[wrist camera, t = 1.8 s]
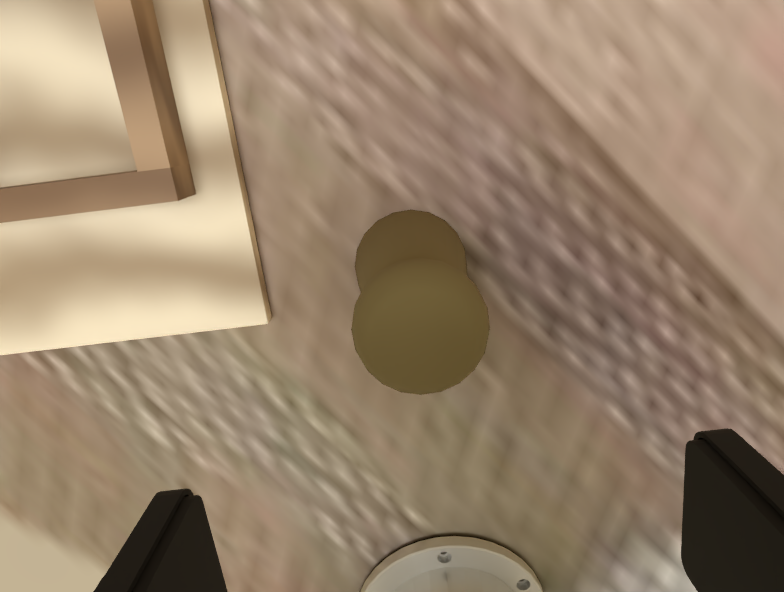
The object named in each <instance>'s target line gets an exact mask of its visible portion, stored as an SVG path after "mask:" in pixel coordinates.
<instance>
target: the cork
mask: <svg viewBox="0 0 784 592" xmlns="http://www.w3.org/2000/svg"><path fill="white" fill-rule="evenodd" d="M355 270H356V275H357V280H358V284H359V288H360V291H361V294H360V296H359V298H358V300H357V302H356V304H355V308H354V314H353V322H352V329H351V330H352V335H353V340H354V345H355V349H356V351H357V353H358V355H359V357H360V358H361V360H362V362H363V363H364V365H365V367H366V369H367V370H368V371H369V372H370V373H371V374H372V375H373V376H374V377H375V378H376V379H378V380H379V381H380V382H381V383H382V384H384V385H386V386H388V387H391V388H393V389H395V390H397V391H400V392H404V393H412V394H419V395H422V394H429V393H435V392H441V391H444V390H446V389H448V388H450V387H452V386H454V385H456V384H459V383H460V382H461V381H462V380H464V379H465V378H466V377H467V376H468V375H469V374H470V373H471V372H472V371H474V370H475V368H476V366H477V365H478V363H479V361H480V360H481V358H482V356H483V355H484V353H485V349H486V344H487V339H488V335H489V330H490V326H489V318H488V309H487V306H486V304H485V302H484V300H483V298H482V296H481V294H480V292H479V290H478V288H477V287H476V285H475V284H474V283H473V282H472V281H471V280H470V279H469V278H468V277H467V264H466V257H465V249H464V246H463V244H462V242H461V240H460V238H459V236H458V234H457V233H456V231H455V230H454V229H453V228H452V227H451V226H450V225H449V224H448V223H447V222H446V221H445V220H443V219H441V218H439V217H437V216H435V215H433V214H431V213H429V212H422V211H415V210H407V211H401V212H395V213H392V214H390V215H388V216H386V217H384V218H382V219H380V220H378V221H377V222H376V223H375V224H374V225H373V226H372V227H371V228H370V229H369V230H368V231H367V232H366V233H365V234H364V236H363V238H362V240H361V242H360V245H359V247H358V249H357V254H356V262H355Z"/></svg>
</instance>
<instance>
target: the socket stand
mask: <svg viewBox="0 0 784 592" xmlns="http://www.w3.org/2000/svg"><path fill="white" fill-rule="evenodd" d="M271 318H272V316H271V311H270V306H269V301H268V296H267V291H266V286H265V281H264V276H263V271H262V266H261V261H260V256H259V251H258V246H257V241H256V236H255V231H254V226H253V221H252V216H251V211H250V206H249V201H248V196H247V191H246V186H245V181H244V176H243V171H242V166H241V161H240V156H239V151H238V146H237V141H236V136H235V131H234V126H233V121H232V116H231V111H230V106H229V101H228V96H227V91H226V86H225V81H224V76H223V71H222V66H221V61H220V56H219V51H218V46H217V41H216V36H215V31H214V26H213V20H212V15H211V10H210V5H209V0H0V355H6V354H14V353H23V352H31V351H40V350H48V349H57V348H66V347H74V346H83V345H91V344H100V343H108V342H117V341H125V340H134V339H142V338H151V337H160V336H168V335H177V334H185V333H194V332H202V331H211V330H219V329H228V328H236V327H245V326H254V325H262V324H268V323H269V321H270V320H271Z"/></svg>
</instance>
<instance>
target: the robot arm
mask: <svg viewBox="0 0 784 592" xmlns="http://www.w3.org/2000/svg"><path fill="white" fill-rule="evenodd" d="M681 558H682V563H683V567H684V569H685V572H686V574H687V576H688V577H689V579H690V581H691V582H692V584H693V585H694V587H695V588H696V590H697V591H698V592H784V475H783V474H782V473H781V472H780V471H778V470H777V469H776V468H775V467H774V466H773V465H772V464H771V463H770V462H768V461H767V460H766V459H765V458H764V457H763V456H762V455H761V454H759V453H758V452H757V451H756V450H755V449H754V448H753V447H752V446H751V445H749V444H748V443H747V442H746V441H745V440H744V439H743V438H742V437H741V436H739V435H738V434H737V433H736V432H735V431H733V430H732V429H719V430H710V431H701V432H698V433H696V434H695V436H694V440H692V441H688V442H687V444H686V452H685V475H684V499H683V522H682V546H681ZM94 592H227V588H226V585H225V581H224V577H223V574H222V570H221V566H220V563H219V559H218V555H217V552H216V548H215V544H214V541H213V537H212V533H211V530H210V526H209V522H208V519H207V515H206V512H205V508H204V504H203V501H202V498H201V497H200V496H199V495H195V496H193V493H192V492H191V490H190V489H179V490H170V491H161V492H158V493H157V494H156V495H155V496H154V497H153V499H152V501H151V502H150V504H149V505H148V507H147V509H146V510H145V512H144V513H143V515H142V517H141V518H140V520H139V522H138V523H137V525H136V526H135V528H134V530H133V531H132V533H131V534H130V536H129V538H128V539H127V541H126V542H125V544H124V546H123V547H122V549H121V550H120V552H119V554H118V555H117V557H116V558H115V560H114V562H113V563H112V565H111V566H110V568H109V570H108V571H107V573H106V574H105V576H104V577H103V578H102V579H101V581H100V583H99V584H98V586H97V587H96V589H95V590H94ZM360 592H543V589H542V586H541V583H540V582H539V580H538V578H537V577H536V575H535V573H534V572H533V570H532V569H531V568H530V567H529V566H528V565H527V564H526V563H525V562H524V561H523V560H522V559H521V558H520V557H518V556H517V555H516V554H514V553H513V552H511V551H510V550H508V549H506V548H504V547H502V546H499V545H497V544H495V543H493V542H489V541H485V540H482V539H478V538H472V537H461V536H448V537H436V538H432V539H427V540H423V541H418V542H416V543H413V544H411V545H409V546H406V547H404V548H401V549H400V550H398V551H396V552H395V553H393V554H392V555H390V556H388V557H387V558H386V559H385V560H383V561H382V562H381V563H380V564H379V565H378V566H377V567H376V568H375V569H374V570H373V571H372V573H371V574H370V575H369V577H368V578H367V579H366V581H365V582H364V585H363V587H362V589H361V591H360Z"/></svg>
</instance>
